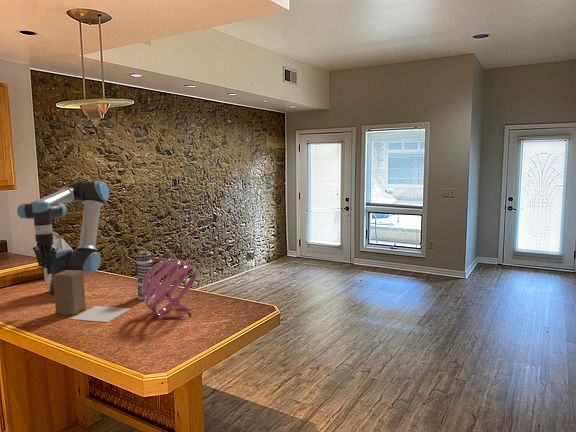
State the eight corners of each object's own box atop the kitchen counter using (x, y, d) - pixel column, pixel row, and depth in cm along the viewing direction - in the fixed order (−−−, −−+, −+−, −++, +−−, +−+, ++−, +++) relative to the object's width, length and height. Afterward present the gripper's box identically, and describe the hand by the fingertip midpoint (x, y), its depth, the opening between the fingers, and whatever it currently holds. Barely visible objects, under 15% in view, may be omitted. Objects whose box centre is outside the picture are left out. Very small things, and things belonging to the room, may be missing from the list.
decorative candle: (148, 300, 231) (145, 253, 228) (133, 298, 234) (130, 253, 231) (158, 295, 240) (156, 250, 236) (144, 293, 243) (141, 249, 239)
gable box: (43, 272, 293) (39, 231, 289) (64, 269, 302) (61, 229, 298) (52, 279, 277) (48, 235, 273) (75, 275, 285) (71, 232, 282)
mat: (95, 306, 223) (95, 306, 223) (130, 309, 218) (130, 308, 218) (70, 319, 205) (70, 318, 205) (107, 322, 200) (107, 321, 200)
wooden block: (73, 316, 210) (70, 275, 207) (55, 314, 212) (51, 274, 209) (87, 308, 220) (83, 270, 217) (69, 307, 222) (66, 269, 219)
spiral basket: (221, 272, 209) (179, 238, 215) (181, 302, 186) (135, 264, 193) (205, 308, 225) (166, 276, 231) (166, 340, 202) (124, 303, 208)
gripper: (26, 234, 211) (31, 281, 214) (49, 234, 208) (53, 283, 211) (38, 231, 219) (43, 277, 222) (60, 232, 215) (65, 278, 219)
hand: (48, 280), depth 217 cm, fingers closed
